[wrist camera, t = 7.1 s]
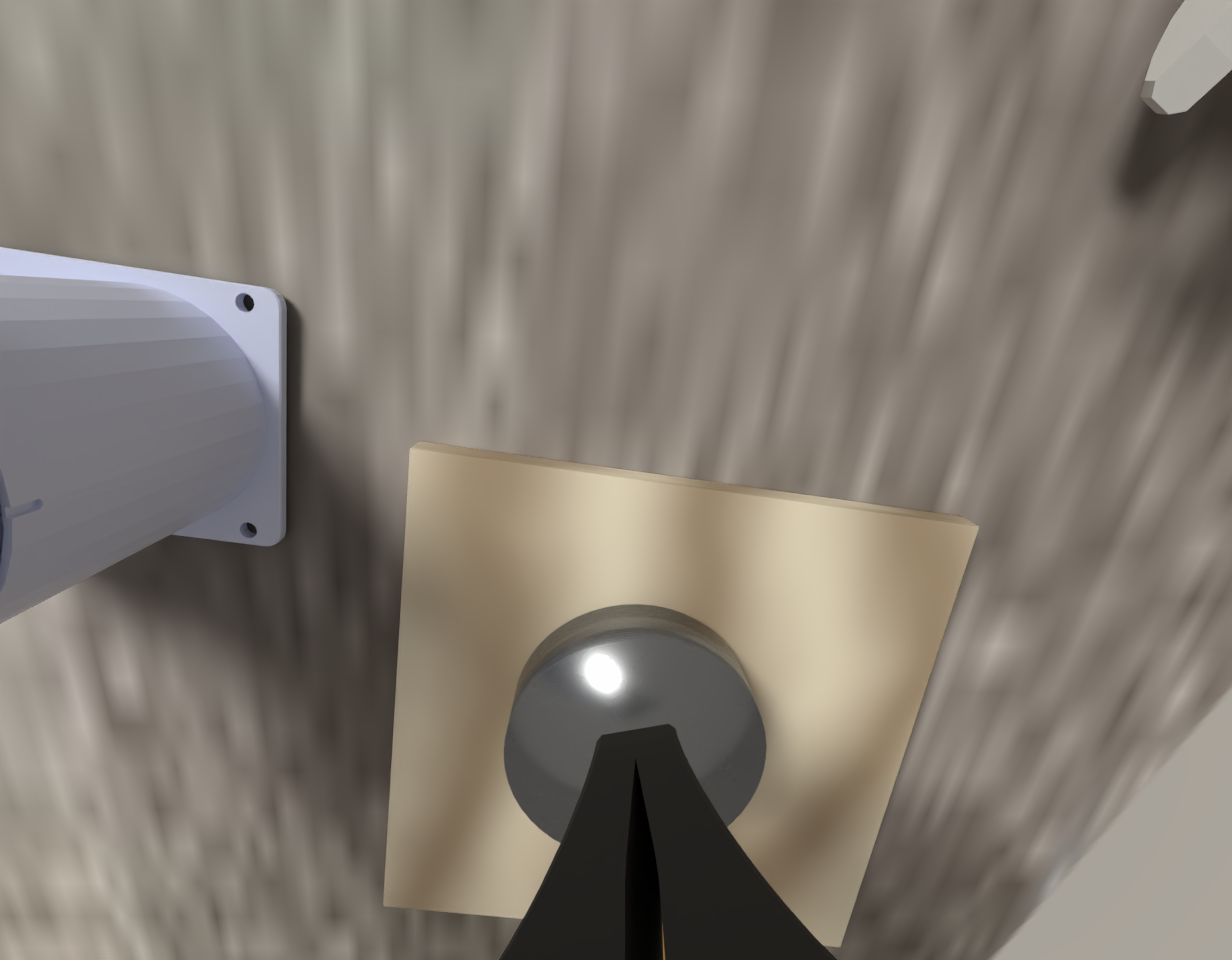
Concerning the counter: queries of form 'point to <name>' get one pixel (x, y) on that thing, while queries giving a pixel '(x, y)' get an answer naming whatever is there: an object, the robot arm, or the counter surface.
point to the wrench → (1190, 56)
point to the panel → (675, 579)
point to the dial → (630, 708)
